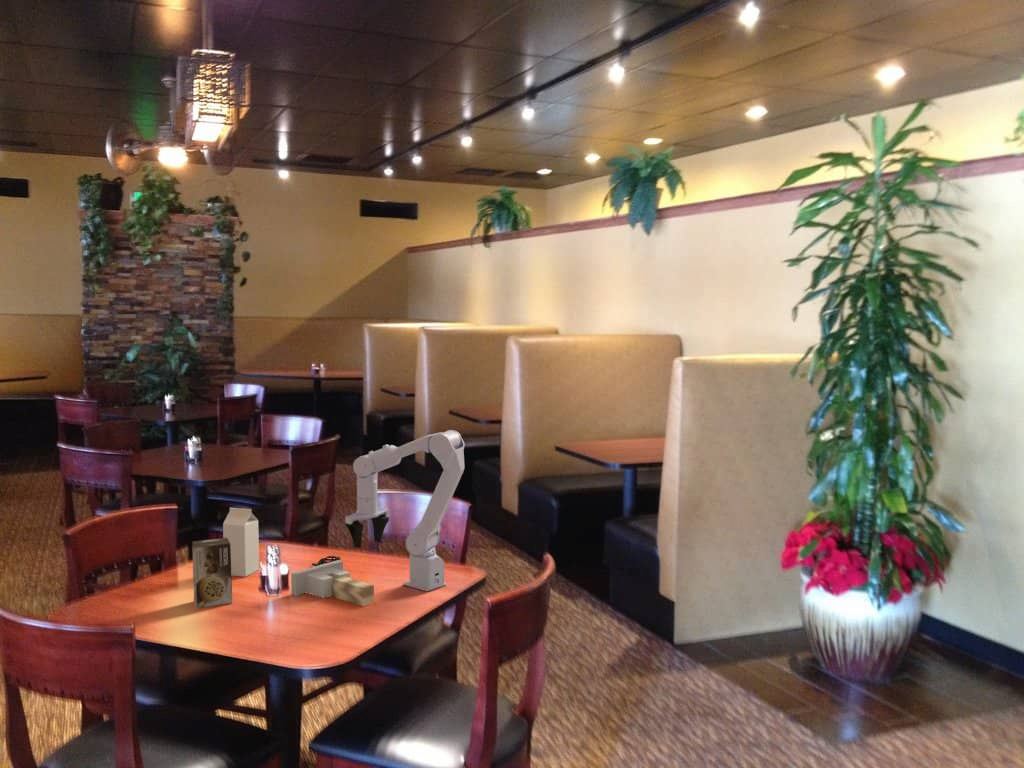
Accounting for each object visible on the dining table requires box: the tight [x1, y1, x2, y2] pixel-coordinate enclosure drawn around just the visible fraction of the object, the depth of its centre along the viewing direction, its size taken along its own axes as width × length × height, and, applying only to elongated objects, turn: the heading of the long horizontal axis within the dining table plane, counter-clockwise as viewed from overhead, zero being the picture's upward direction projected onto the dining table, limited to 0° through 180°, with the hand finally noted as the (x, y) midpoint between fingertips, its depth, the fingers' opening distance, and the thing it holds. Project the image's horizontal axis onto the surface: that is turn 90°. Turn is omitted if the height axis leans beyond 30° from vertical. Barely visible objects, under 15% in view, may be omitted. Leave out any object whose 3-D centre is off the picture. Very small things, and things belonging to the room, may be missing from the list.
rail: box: [333, 576, 375, 607], centre depth 233 cm, size 15×4×5 cm, turn 51°
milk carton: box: [222, 507, 260, 578], centre depth 254 cm, size 7×7×19 cm
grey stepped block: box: [290, 560, 351, 599], centre depth 239 cm, size 9×16×6 cm, turn 141°
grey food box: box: [191, 537, 234, 609], centre depth 228 cm, size 9×6×16 cm
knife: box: [311, 555, 341, 566], centre depth 258 cm, size 25×6×1 cm, turn 165°
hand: (367, 544), depth 250 cm, fingers open, 7 cm apart
